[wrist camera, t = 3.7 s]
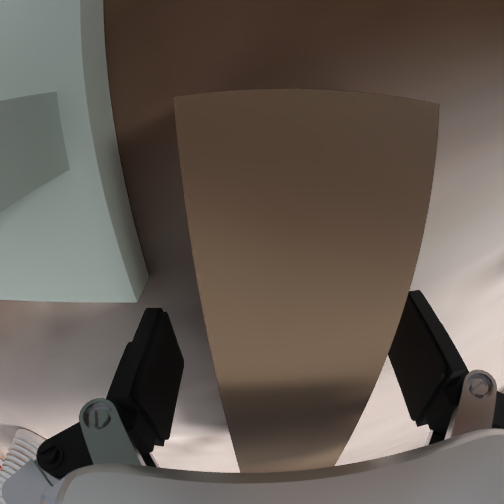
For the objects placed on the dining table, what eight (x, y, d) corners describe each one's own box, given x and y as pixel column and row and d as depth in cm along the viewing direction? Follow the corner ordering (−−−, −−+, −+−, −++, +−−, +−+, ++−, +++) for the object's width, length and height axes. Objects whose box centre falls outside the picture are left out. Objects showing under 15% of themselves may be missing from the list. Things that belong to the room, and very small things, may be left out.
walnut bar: (217, 94, 8) (173, 96, 4) (350, 94, 8) (439, 104, 4) (246, 410, 16) (244, 486, 12) (315, 407, 16) (324, 482, 11)
